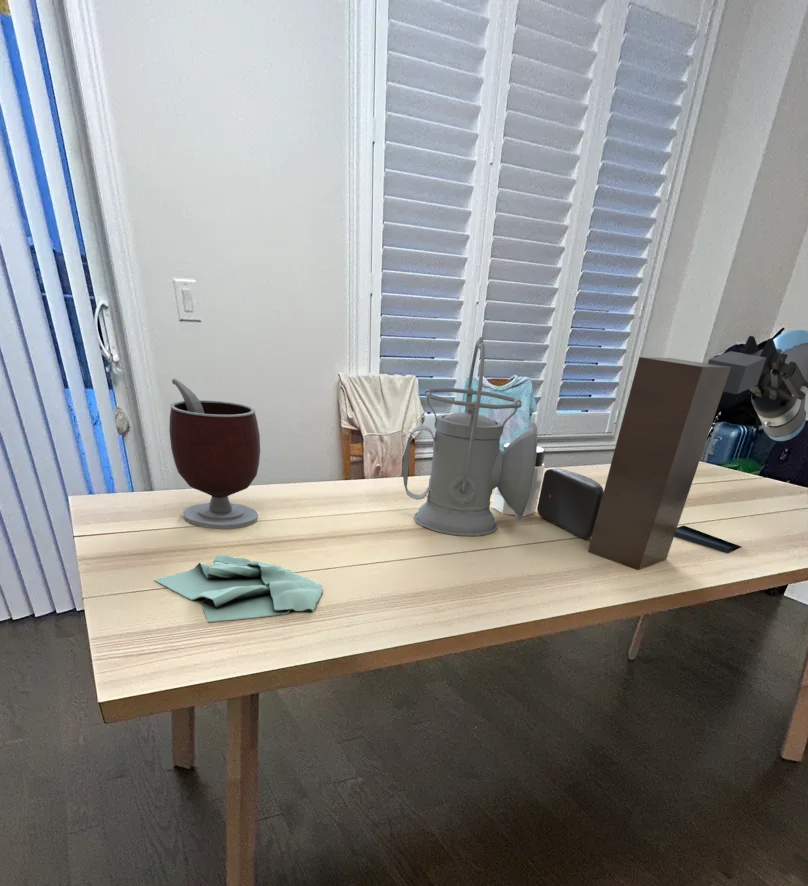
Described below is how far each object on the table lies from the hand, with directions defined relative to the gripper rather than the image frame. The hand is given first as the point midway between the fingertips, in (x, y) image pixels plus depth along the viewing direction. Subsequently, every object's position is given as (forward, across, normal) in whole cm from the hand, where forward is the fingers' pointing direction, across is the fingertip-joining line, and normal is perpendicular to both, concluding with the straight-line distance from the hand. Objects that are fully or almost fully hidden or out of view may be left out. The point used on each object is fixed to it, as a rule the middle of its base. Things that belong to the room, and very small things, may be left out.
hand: (756, 346), depth 104 cm
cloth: (+65, +27, -61) cm, 93 cm away
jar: (+2, +30, -37) cm, 48 cm away
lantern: (+18, +30, -44) cm, 56 cm away
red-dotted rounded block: (+3, +17, -37) cm, 41 cm away
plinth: (+6, +2, -38) cm, 38 cm away
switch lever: (-2, 0, -5) cm, 5 cm away
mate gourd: (+51, +54, -57) cm, 94 cm away
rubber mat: (-19, -3, -28) cm, 34 cm away
